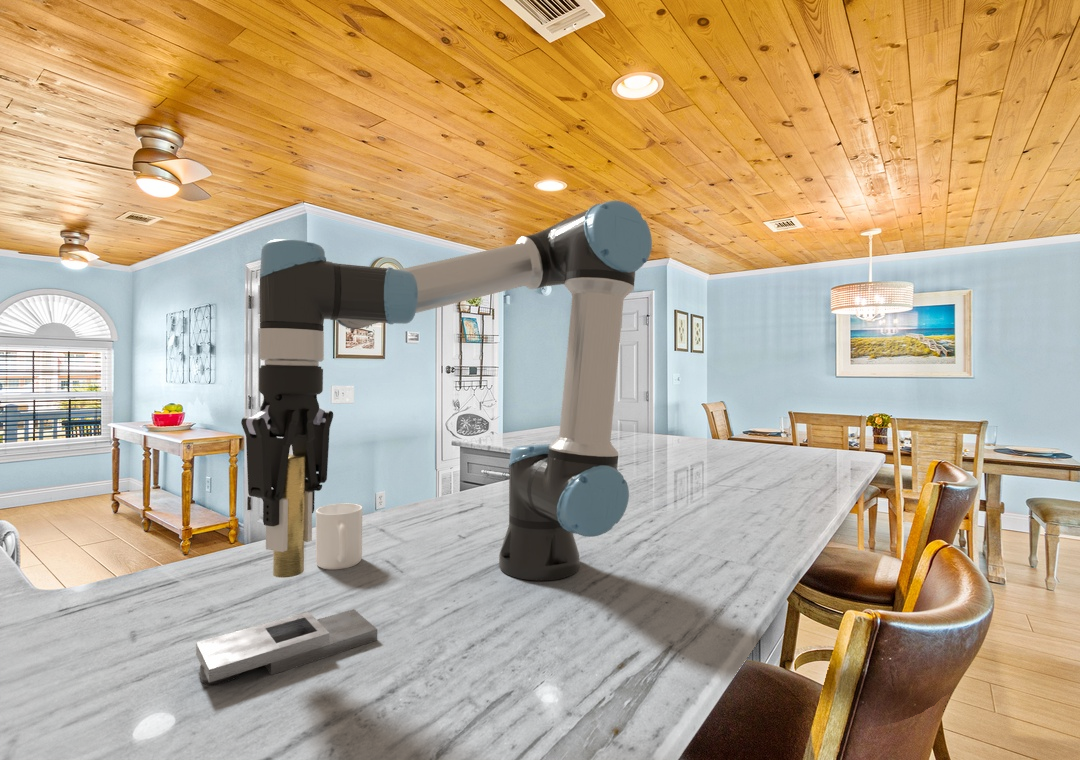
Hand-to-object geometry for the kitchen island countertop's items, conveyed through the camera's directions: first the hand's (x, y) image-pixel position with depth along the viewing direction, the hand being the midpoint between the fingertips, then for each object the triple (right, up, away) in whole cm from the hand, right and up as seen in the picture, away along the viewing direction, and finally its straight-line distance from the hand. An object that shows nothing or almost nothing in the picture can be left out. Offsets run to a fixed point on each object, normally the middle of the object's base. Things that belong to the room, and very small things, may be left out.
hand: (289, 544), depth 71 cm
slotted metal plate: (0, -14, 0) cm, 14 cm away
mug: (-5, -14, +31) cm, 35 cm away
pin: (0, -4, 0) cm, 4 cm away
